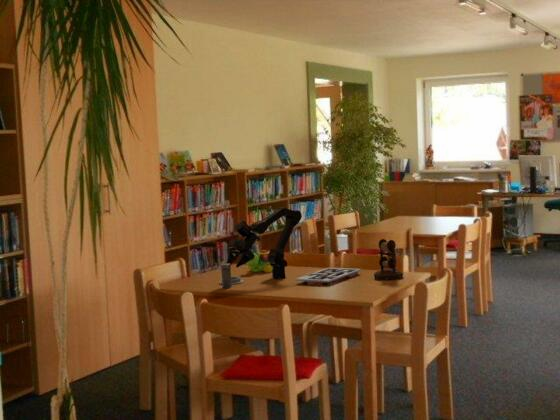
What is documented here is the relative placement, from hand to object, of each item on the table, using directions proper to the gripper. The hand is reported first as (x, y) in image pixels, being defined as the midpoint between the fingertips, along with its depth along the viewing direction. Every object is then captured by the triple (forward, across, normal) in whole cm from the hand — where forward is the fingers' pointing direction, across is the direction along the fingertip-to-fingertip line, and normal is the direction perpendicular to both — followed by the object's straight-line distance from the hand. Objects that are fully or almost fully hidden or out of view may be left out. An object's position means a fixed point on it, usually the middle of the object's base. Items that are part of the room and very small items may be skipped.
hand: (231, 266), depth 407 cm
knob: (+10, 0, +5) cm, 11 cm away
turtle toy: (-19, -27, +34) cm, 47 cm away
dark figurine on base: (-37, +50, +52) cm, 81 cm away
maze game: (-22, +27, +38) cm, 51 cm away
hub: (+3, -10, +12) cm, 16 cm away
